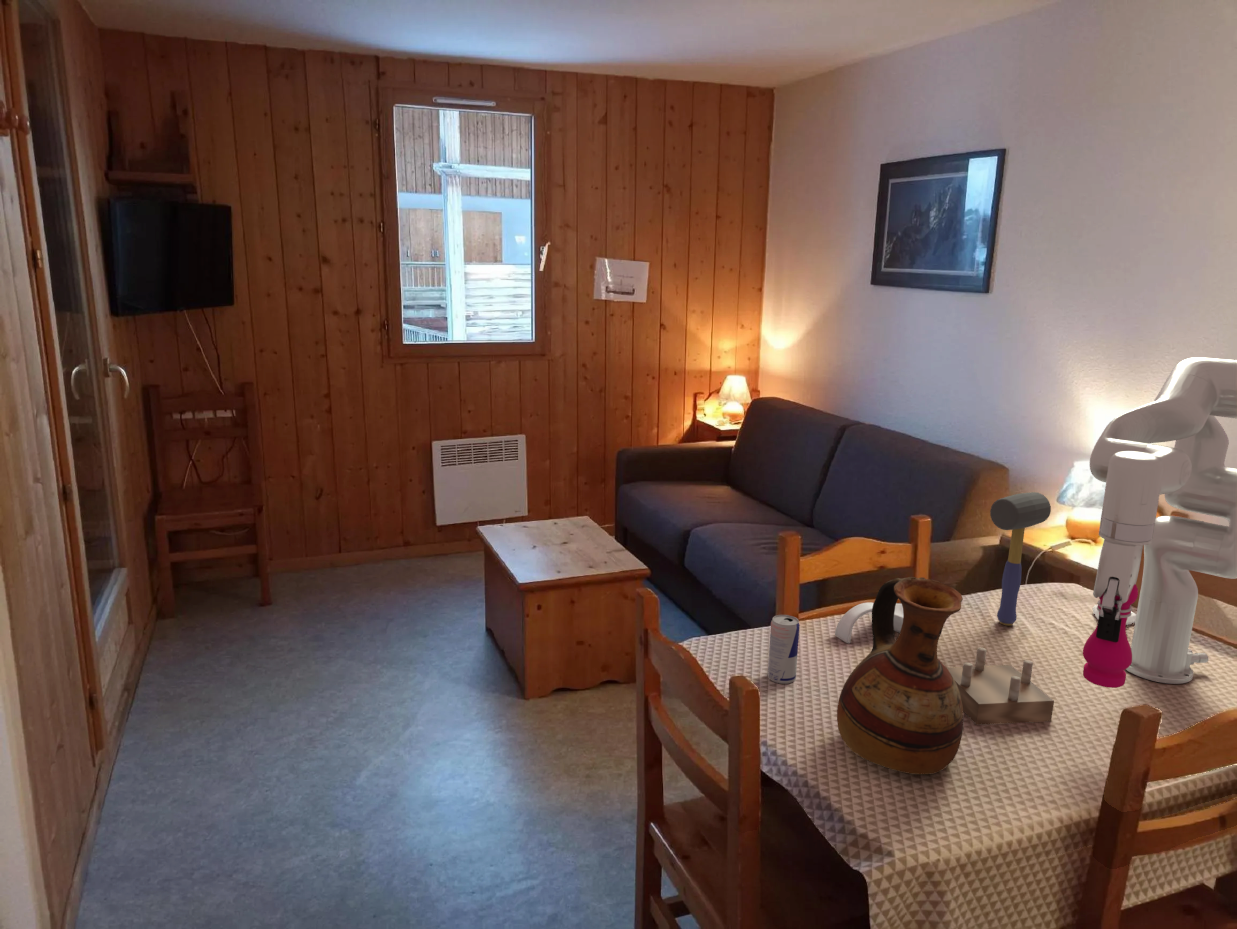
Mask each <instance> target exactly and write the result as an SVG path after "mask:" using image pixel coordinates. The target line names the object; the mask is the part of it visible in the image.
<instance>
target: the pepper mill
mask: <svg viewBox="0 0 1237 929" xmlns="http://www.w3.org/2000/svg"><path fill="white" fill-rule="evenodd" d="M1118 587H1119V586H1118ZM1103 596H1104V593H1103V594H1102V596H1101V597H1098V599H1099V600H1098V601H1097V603H1096V605H1098V606H1097V610H1098V611H1099V614H1100V612H1101V606H1102V601H1103ZM1138 596H1139V589H1138V586H1137V583H1136V584H1135V585H1134V586H1133V589H1132V591H1131V594H1130V596H1129V599H1128V601H1127V602H1125V603H1123V604H1122V610H1121V615H1120V619H1122V621H1121V628H1120V634H1119V640H1118V642H1111V641H1107V640H1103V639H1099V638H1097V637H1096V633H1097V626H1098V623H1097V625H1096V627H1095V629H1094V630H1093V631H1092V633H1091V634H1090V635H1089V636H1088V637H1087V640H1086V641H1085V643H1084V646H1083V648H1082V655H1083V658H1084V660H1085V661H1086V663H1085V664H1084V665H1083V671H1082V675H1083V678H1084V679H1086V681H1088V682H1089V683H1092V684H1093V685H1095V686H1099V687H1103V688H1110V689H1113V688H1115V689H1116V688H1122V687H1123V686H1124V685H1126V679H1127V672H1126V669H1127V668H1128V667H1129V666H1130V665H1131V663H1132V651H1131V644H1130V641H1129V639H1128V636H1127V631H1126V630H1127V629H1126V627H1127V625H1126V621H1127V618H1128V617H1129V616H1131V611H1132V610H1133V607H1132V604H1134V603H1135V602H1136V601H1137V599H1138ZM1115 600H1119V601H1120V597H1119V596H1116V598H1115ZM1117 606H1118V604H1114V607H1116V609H1117Z"/></svg>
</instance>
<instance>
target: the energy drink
mask: <svg viewBox="0 0 1237 929" xmlns="http://www.w3.org/2000/svg"><path fill="white" fill-rule="evenodd" d="M769 634H770V635H769V646H768V647H769V649H768V661H767V662H768V664H767V665H768V666H767V678H768V679H769V678H770V679H769V680H770V681H772V682H773V683H776V684H782V685H787V684H791V683H793V682H794V681H796V678H797V669H798V668H797V666H798V654H799V653H798V651H799V641H800V640H799V638H800V636H799V635H800V622H799V619H798V618H797V617H795V616H793V615H789V614H778V615H777V614H776V615H774V616H773V617H772V620H771V622H770V631H769Z"/></svg>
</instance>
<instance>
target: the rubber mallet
mask: <svg viewBox="0 0 1237 929" xmlns="http://www.w3.org/2000/svg"><path fill="white" fill-rule="evenodd" d="M1051 512H1052V507H1051V503H1050V501H1049V499H1048V497H1047V496H1045V495H1044V494H1042V493H1039V492H1035V491H1034V492H1033V491H1031V492H1023V493H1015V494H1012V495H1008V496H1005V497H1001V498H999V499H997V500H996V501H994V502H993V504H992V505H991V507H990V511H989V513H990V518H991V522H992V523H993V524H994V525H995V526H996V527H997V528H998V529H1000V530H1003V531H1010V530H1011V534H1010V535H1011V536H1010V542H1009V550H1008V558H1007V560H1006V562H1005V566H1004V567H1003V573H1002V577H1001V578H1002V579H1001V595H1000V596H1001V597H1000V603H999V608H998V611H997V613H996V617H997V620H998V622H999V624H1001V625H1003V626H1009V627H1010V626H1013V625H1014V623H1015V622H1016V621H1017V619H1018V618H1017V605H1018V604H1017V603H1018V596H1019V591H1020V588H1021V582H1022V554H1023V546H1024V536H1025V529H1026V528H1029V527H1032V526H1035V525H1039V524H1041V523H1044V522H1046V521H1047V520H1048V518H1049V517H1050V516H1051Z"/></svg>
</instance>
